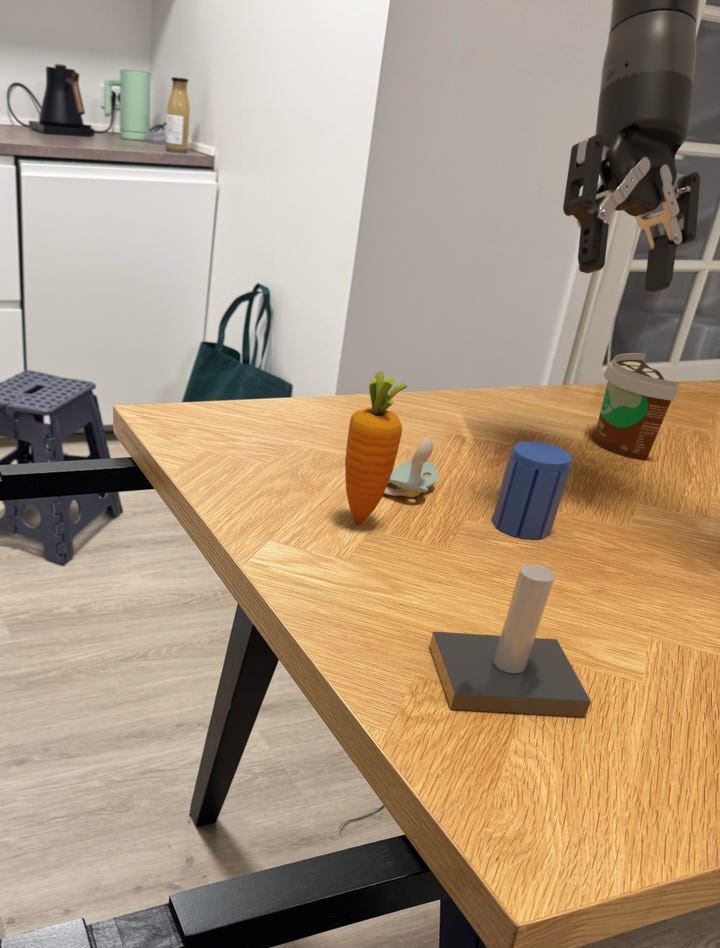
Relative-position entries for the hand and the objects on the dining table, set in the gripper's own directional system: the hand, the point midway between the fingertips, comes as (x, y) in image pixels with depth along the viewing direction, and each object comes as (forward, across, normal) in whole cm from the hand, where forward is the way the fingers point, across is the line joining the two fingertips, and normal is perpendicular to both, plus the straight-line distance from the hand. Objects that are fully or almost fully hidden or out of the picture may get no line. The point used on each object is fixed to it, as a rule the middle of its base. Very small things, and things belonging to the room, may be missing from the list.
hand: (625, 280), depth 79 cm
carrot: (+23, -16, +15) cm, 32 cm away
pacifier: (+19, -7, +20) cm, 28 cm away
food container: (+10, +27, +23) cm, 37 cm away
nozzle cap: (+22, 0, +10) cm, 24 cm away
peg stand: (+35, -18, -8) cm, 40 cm away
